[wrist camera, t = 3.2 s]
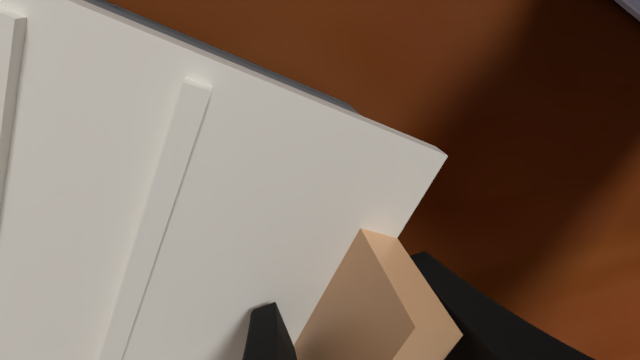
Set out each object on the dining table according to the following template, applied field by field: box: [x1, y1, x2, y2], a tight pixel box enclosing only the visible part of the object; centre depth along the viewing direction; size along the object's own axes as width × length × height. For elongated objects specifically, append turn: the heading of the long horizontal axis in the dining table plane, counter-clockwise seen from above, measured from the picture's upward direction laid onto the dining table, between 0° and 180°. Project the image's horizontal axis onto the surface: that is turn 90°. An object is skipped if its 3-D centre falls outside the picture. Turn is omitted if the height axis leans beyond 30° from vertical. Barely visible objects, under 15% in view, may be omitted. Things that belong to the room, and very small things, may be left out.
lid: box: [0, 0, 463, 360], centre depth 7 cm, size 15×10×5 cm, turn 65°
